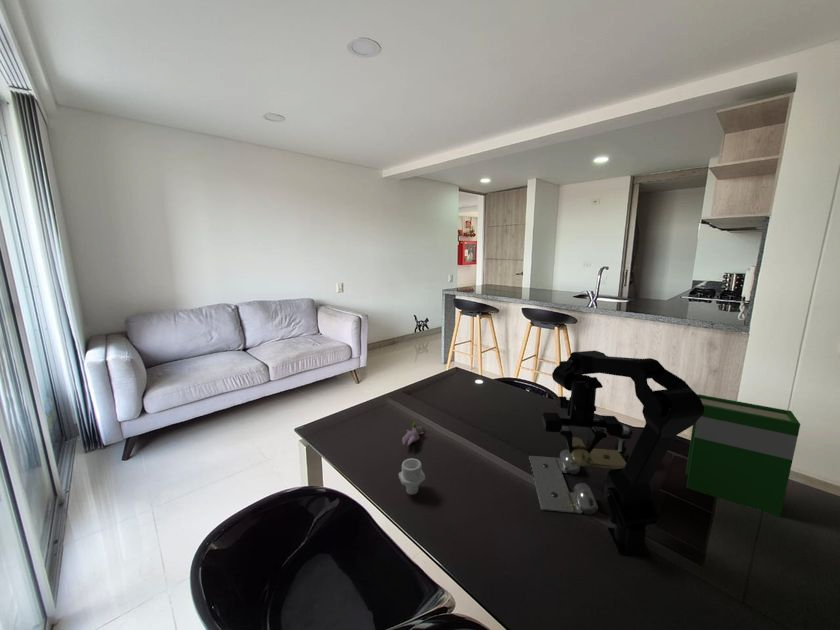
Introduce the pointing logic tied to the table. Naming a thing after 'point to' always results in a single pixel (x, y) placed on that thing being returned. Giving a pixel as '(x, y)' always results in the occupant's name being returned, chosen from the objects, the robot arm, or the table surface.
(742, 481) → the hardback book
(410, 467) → the pipe fitting
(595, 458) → the brass hinge leaf
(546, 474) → the steel hinge leaf
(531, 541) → the table surface
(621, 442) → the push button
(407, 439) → the purple flower
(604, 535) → the table surface
